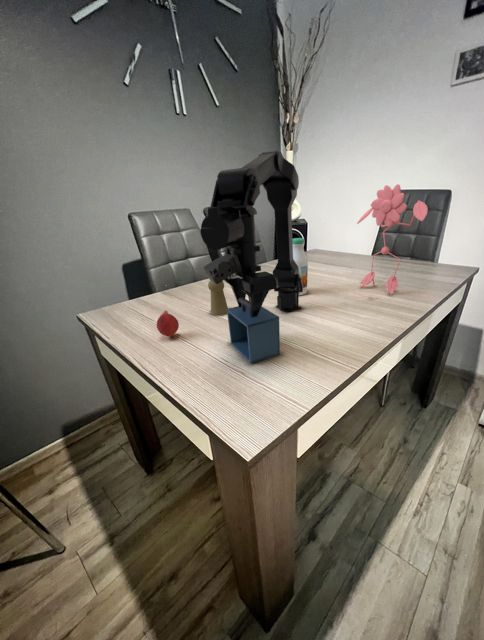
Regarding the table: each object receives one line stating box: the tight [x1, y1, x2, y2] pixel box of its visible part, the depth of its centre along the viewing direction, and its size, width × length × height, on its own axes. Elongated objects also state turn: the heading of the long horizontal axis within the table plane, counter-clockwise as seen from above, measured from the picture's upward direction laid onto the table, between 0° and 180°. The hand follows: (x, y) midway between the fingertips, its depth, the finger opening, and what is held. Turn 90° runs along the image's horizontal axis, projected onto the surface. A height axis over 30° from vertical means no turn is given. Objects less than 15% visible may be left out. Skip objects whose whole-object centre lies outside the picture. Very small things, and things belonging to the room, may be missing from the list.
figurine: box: [354, 183, 429, 300], centre depth 95 cm, size 15×26×35 cm, turn 34°
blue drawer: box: [226, 297, 281, 365], centre depth 67 cm, size 13×12×8 cm
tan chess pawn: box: [207, 280, 229, 316], centre depth 91 cm, size 6×6×11 cm
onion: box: [156, 310, 180, 338], centre depth 77 cm, size 6×6×8 cm
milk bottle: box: [292, 237, 309, 296], centre depth 103 cm, size 8×8×20 cm
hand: (247, 311), depth 64 cm, fingers closed on blue drawer, 7 cm apart
